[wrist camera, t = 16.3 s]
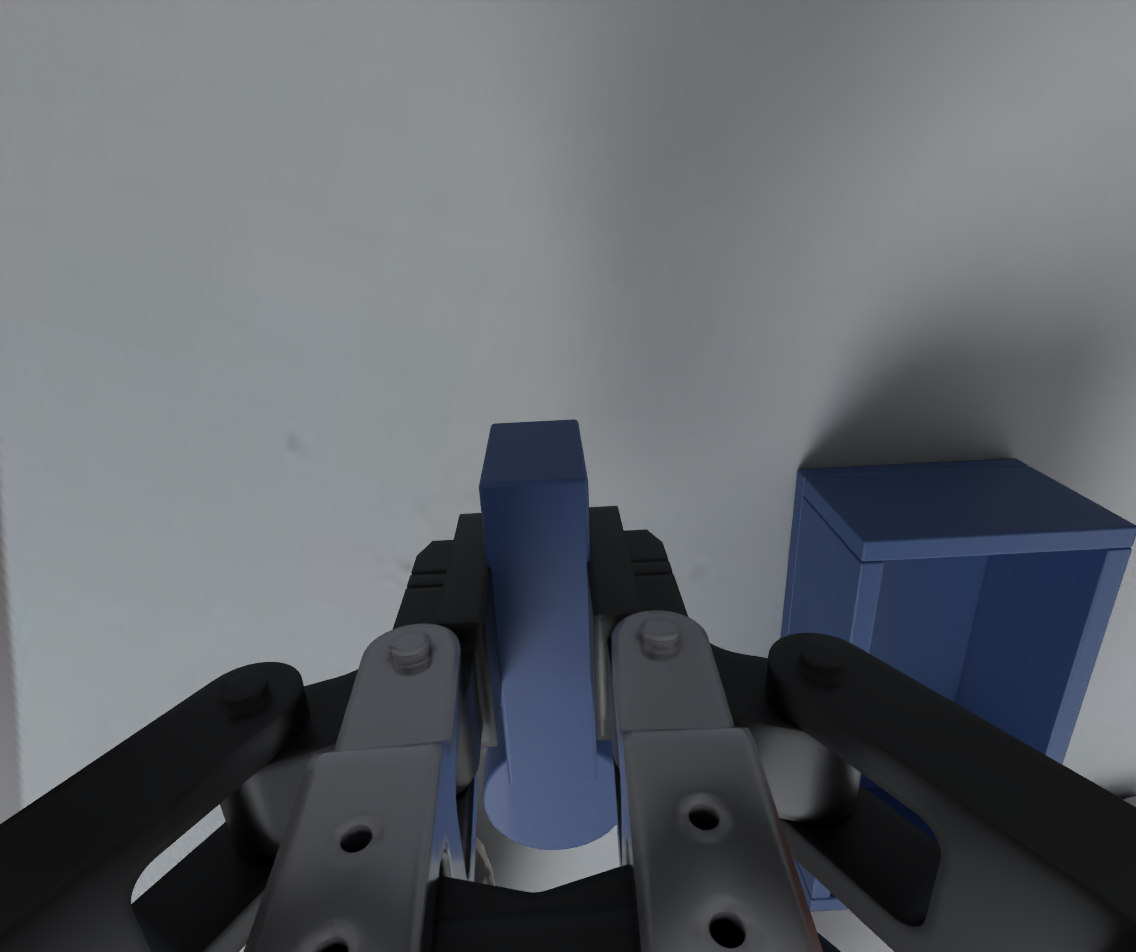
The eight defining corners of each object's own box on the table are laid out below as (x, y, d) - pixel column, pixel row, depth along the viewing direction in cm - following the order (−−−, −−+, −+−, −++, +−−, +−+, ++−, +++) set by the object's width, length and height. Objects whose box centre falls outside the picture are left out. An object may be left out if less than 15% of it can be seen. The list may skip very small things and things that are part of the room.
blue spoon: (452, 424, 12) (429, 487, 10) (615, 416, 12) (636, 476, 10) (494, 786, 16) (485, 902, 13) (620, 778, 16) (636, 893, 13)
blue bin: (796, 468, 20) (864, 541, 16) (1016, 457, 20) (1140, 526, 16) (764, 792, 25) (809, 913, 21) (940, 782, 26) (1019, 899, 21)
